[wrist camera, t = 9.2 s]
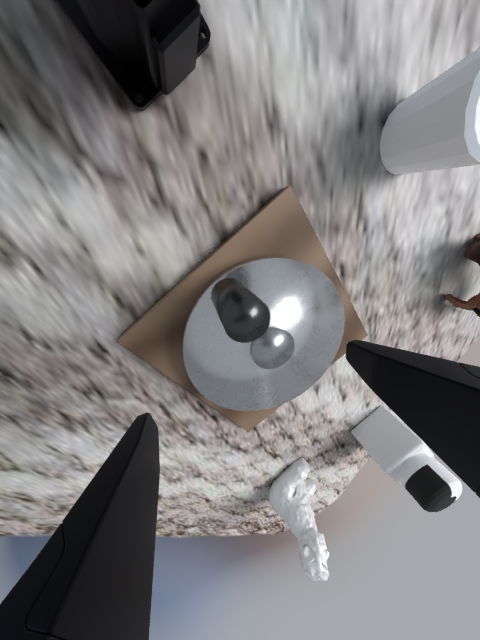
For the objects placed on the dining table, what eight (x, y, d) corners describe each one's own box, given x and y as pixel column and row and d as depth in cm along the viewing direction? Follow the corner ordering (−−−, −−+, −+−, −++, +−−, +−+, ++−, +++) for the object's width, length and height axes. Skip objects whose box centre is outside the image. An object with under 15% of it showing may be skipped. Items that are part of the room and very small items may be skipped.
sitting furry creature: (313, 480, 40) (361, 571, 29) (272, 502, 39) (307, 603, 29) (303, 454, 36) (356, 550, 25) (258, 478, 35) (292, 587, 24)
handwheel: (248, 422, 27) (268, 481, 20) (142, 338, 19) (123, 393, 13) (355, 339, 26) (410, 374, 20) (291, 214, 18) (350, 207, 12)
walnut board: (120, 335, 20) (116, 341, 19) (284, 187, 18) (290, 185, 17) (245, 424, 29) (248, 432, 28) (360, 330, 28) (367, 335, 26)
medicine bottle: (364, 444, 40) (432, 523, 29) (349, 430, 36) (419, 514, 26) (394, 419, 39) (475, 491, 28) (381, 403, 36) (466, 478, 25)
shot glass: (385, 198, 21) (470, 185, 15) (364, 123, 18) (461, 68, 12) (441, 151, 21) (552, 119, 15) (429, 67, 18) (566, -21, 11)
